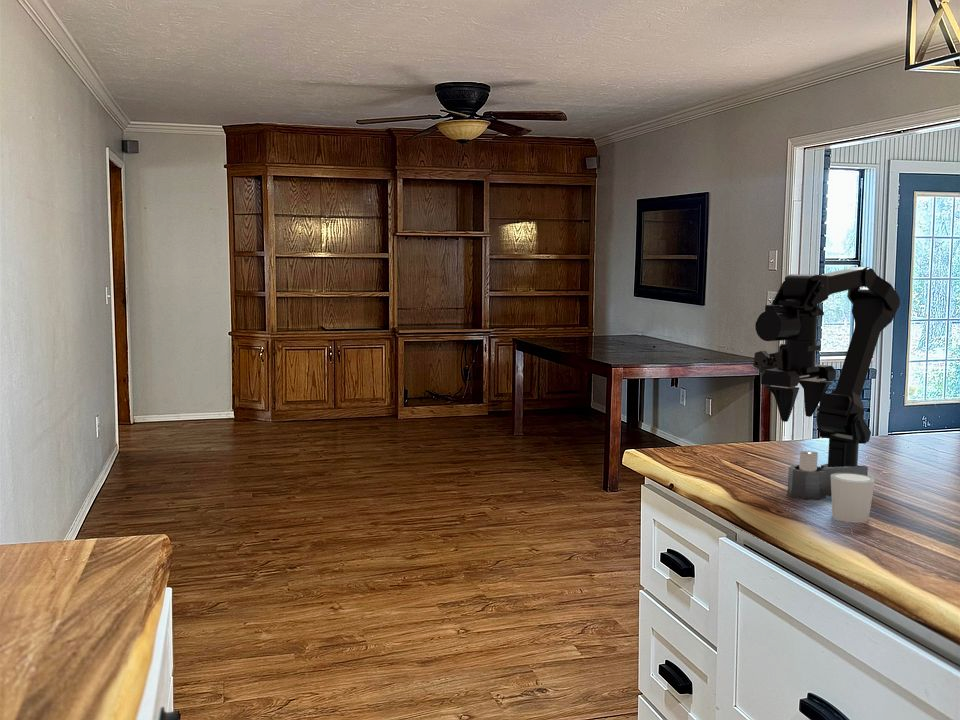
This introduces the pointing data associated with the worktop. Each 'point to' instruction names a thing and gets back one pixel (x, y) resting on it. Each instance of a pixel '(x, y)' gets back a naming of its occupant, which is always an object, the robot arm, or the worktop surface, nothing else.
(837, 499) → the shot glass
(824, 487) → the grey ring with handle
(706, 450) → the worktop surface
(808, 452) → the hinge pin
